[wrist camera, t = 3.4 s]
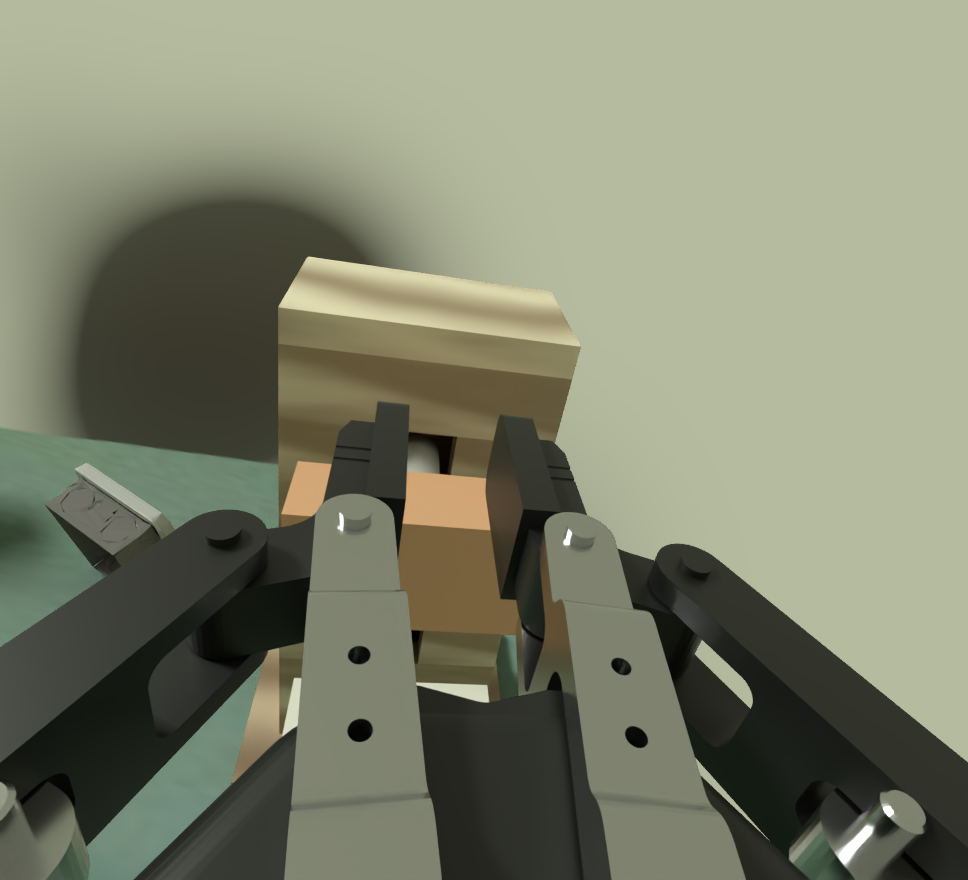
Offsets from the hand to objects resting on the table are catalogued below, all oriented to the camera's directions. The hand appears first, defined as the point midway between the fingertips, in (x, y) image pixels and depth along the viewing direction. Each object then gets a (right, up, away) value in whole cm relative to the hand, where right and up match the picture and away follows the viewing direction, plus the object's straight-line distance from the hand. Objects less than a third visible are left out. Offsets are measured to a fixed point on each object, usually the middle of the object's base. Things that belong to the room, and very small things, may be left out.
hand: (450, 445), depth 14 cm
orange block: (-2, -5, +12) cm, 13 cm away
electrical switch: (-26, -11, +33) cm, 43 cm away
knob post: (-6, -18, +28) cm, 33 cm away
